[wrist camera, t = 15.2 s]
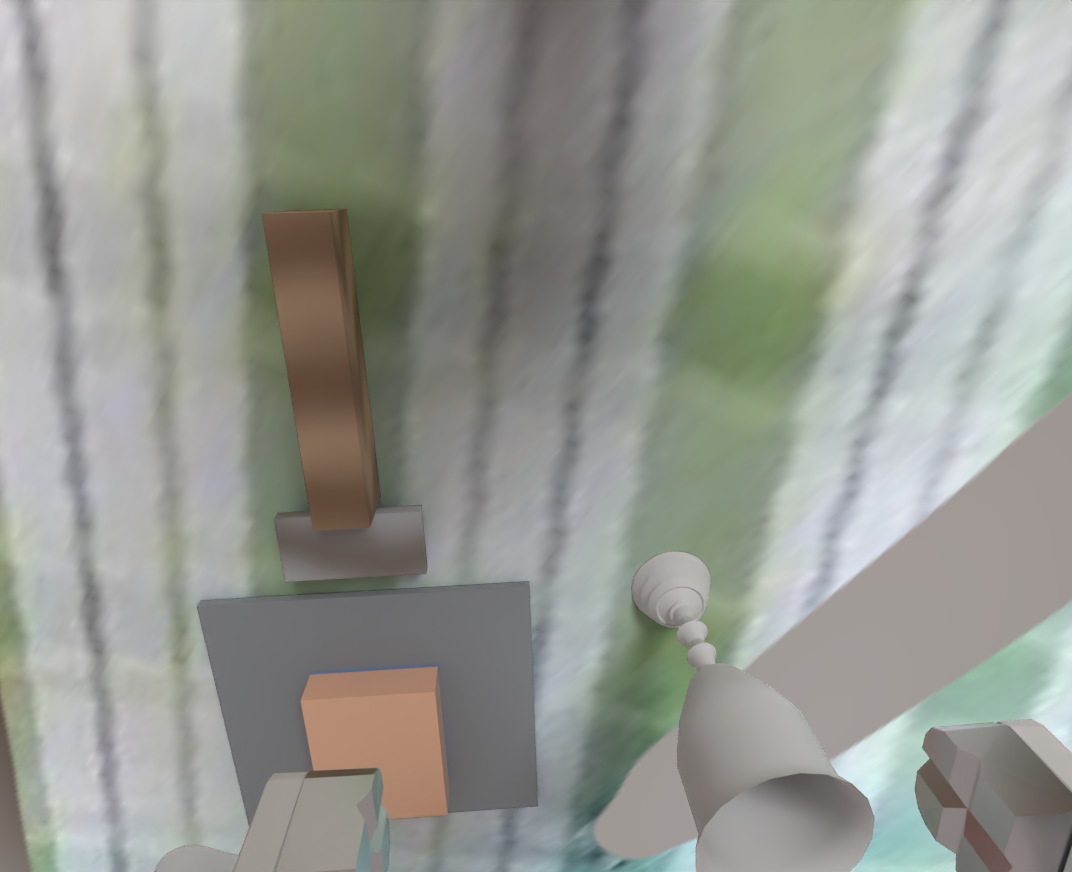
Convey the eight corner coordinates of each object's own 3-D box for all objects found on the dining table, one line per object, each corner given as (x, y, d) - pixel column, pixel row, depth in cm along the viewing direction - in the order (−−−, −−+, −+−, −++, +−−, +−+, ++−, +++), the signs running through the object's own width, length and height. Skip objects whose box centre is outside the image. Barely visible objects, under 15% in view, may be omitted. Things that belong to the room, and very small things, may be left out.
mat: (200, 600, 42) (196, 606, 41) (528, 581, 43) (529, 586, 42) (252, 819, 48) (249, 827, 47) (537, 798, 49) (537, 806, 48)
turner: (236, 212, 34) (205, 216, 31) (396, 207, 35) (385, 210, 31) (296, 560, 41) (277, 597, 38) (429, 552, 42) (423, 589, 38)
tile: (300, 700, 41) (323, 824, 44) (434, 691, 41) (447, 815, 45) (310, 672, 43) (332, 792, 47) (438, 664, 44) (449, 783, 47)
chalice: (674, 651, 45) (781, 930, 28) (593, 601, 43) (657, 867, 27) (749, 572, 43) (911, 820, 26) (668, 516, 42) (787, 744, 25)
